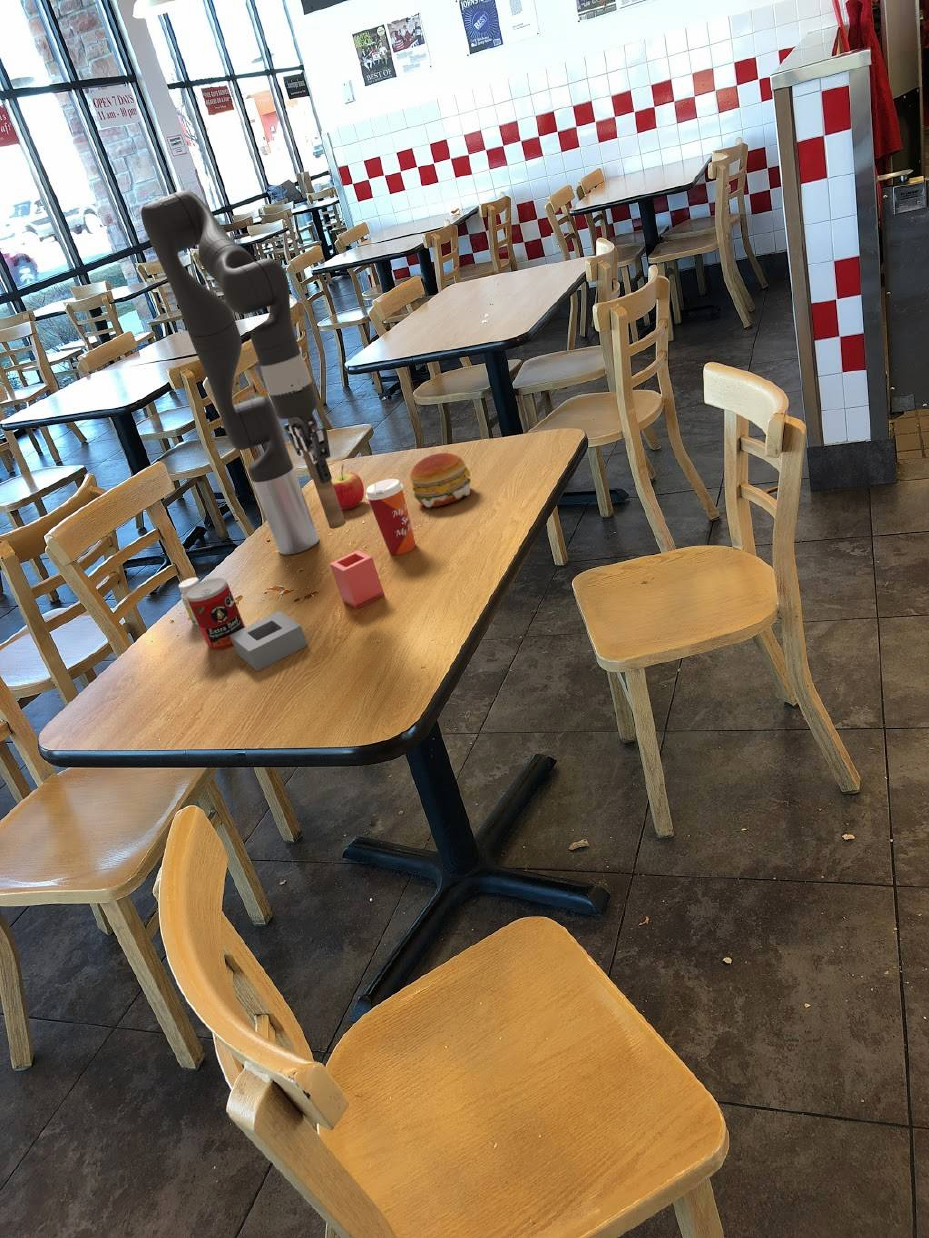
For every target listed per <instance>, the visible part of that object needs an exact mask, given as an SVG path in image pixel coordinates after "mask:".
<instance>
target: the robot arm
mask: <svg viewBox="0 0 929 1238" xmlns="http://www.w3.org/2000/svg"><path fill="white" fill-rule="evenodd" d="M140 217H141V220H142V224H143V228H144V230H145V233H146V235H147V237H148V240H149V242H150V244H151V246H152V248H153V250H154V253H155V255H156V258H157V260H158V261H159V264H160V266H161V268H162V270H163V272H164V274H165V277H166V278H167V282H168V284H169V285H170V287H171V288H170V289H171V291H172V293H173V295H174V298H175V301H176V303H177V306H178V308H179V312H180V314H181V316H182V319H183V323H184V325H185V328H186V330H187V331H186V332H187V334H188V336H189V339H190V341H191V343H192V347H193V348H194V350H195V352H196V355H197V357H198V360H199V362H200V365H201V367H202V368H203V371H204V374H205V376H206V378H207V381H208V383H209V386H210V389H211V392H212V395H213V398H214V401H215V404H216V406H217V407H216V408H217V409H218V412H219V416H220V419H221V423H222V425H223V428H224V431H225V434H226V435H227V438H228V441H229V442H230V444H231V445H232V447H233V448H234V449H236V450H238V451H244V450H247V449H250V448H254V447H257V446H259V445H263V444H266V443H268V447H267V448H266V450H265V451H264V452H263V453H262V454H261V455H260V456H259V457H258V458H256V459H255V460H254V461H253V462H252V463H250V464H249V467H248V474H249V477H250V480H251V481H252V484H253V487H254V490H255V493H256V494H257V498H258V500H259V503H260V506H261V508H262V510H263V513H264V515H265V518H266V521H267V524H268V526H269V528H270V532H271V534H272V537H273V540H274V542H275V545H276V547H277V550H278V552H279V554H281V555H286V556H289V555H294V554H299V553H301V552H305V551H306V550H308V549H310V548H312V547H314V546H315V545H316V544H317V543H318V542H319V540H320V538H319V534H318V532H317V528H316V527H315V524H314V521H313V518H312V515H311V512H310V510H309V506H308V504H307V501H306V499H305V496H304V492H303V490H302V487H301V485H300V482H299V479H298V476H297V474H296V471H295V468H294V465H293V462H292V460H291V457H290V454H289V452H288V449H287V446H286V443H285V441H284V438H283V437H284V436H283V433H282V430H281V427H280V426H281V425H280V423H279V419H280V420H287V422H288V423H286V424H283V430H284V431H285V433H286V435H287V437H288V438H289V440H290V443H291V444H292V447H293V448H294V450H295V452H296V455H297V456H298V457H300V456H301V459H302V460H303V462H305V465H306V468H307V471H308V474H309V476H310V479H311V480H313V478H312V475H311V473H310V470H309V467H308V464H307V461H306V458H305V455H304V453H303V450H302V449H303V448H304V450H305V451H306V452H308V453H309V455H310V457H311V460H312V462H313V465H314V468H315V471H316V473H317V476H318V479H319V482H320V483H326V482H328V481H330V480H332V479H333V476H332V474H331V470H330V467H329V465H328V462H327V459H329V458H331V451H330V445H329V437H328V430H327V429H326V428H325V427H322V428H320V425H319V423H318V420H317V419H316V417H315V415H314V414H313V412H314V411H315V409H317V408H318V407H319V405H320V402H319V401H320V400H319V399H318V396H317V392H316V390H315V386H314V384H313V381H312V378H311V375H310V372H309V368H308V367H307V363H306V361H305V360H304V357H303V356H302V353H301V350H300V347H299V344H298V342H297V338H296V334H295V332H294V327H293V321H292V312H291V303H290V301H291V299H290V285H289V279H288V275H287V273H286V271H285V269H284V267H283V266H282V265H281V263H279V261H278V260H276V259H273V258H270V257H269V258H268V257H267V258H262V259H259V260H256V261H255V260H254V258H253V256H252V255H251V254H250V252H249V251H247V250H246V249H245V248H244V247H242V246H241V245H240V244H239V243H237V241H235V240H234V239H232V237H230V236H229V234H228V233H227V232H226V231H225V229H224V228H223V226H222V225H221V223H220V222H219V221H218V219H217V218H216V217H215V216H214V213H212V212H211V210H210V209H209V207H208V206H207V205H206V203H204V201H203V200H202V199H201V198H200V196H198V195H197V194H196V193H195V192H193V191H191V190H186V189H185V190H179V191H176V192H173V193H171V194H169V195H166V196H164V197H161V198H158V199H156V200H154V201H151V202H148V203H146V204H144V205H143V206H142V207H141V210H140ZM195 246H198V249H197V250H198V259H199V262H200V265H201V266H202V268H203V270H204V271H205V272H206V273H207V274H208V275H209V276H210V277H211V278H213V280H214V281H216V282H217V283H218V284H219V286H220V287H221V290H222V295H223V297H224V299H225V301H224V300H223V299H222V298H220V296H218V295H217V294H216V293H214V292H213V291H212V290H211V289H209V288H207V287H206V286H205V285H203V284H202V283H201V282H199V281H198V280H197V279H196V278H195V277H194V276H193V275H192V274H191V273H190V272H189V271H188V270H187V269H186V268H185V267H184V265H183V263H182V262H181V260H180V257H179V253H181V252H183V251H185V250H188V249H191V248H193V247H195ZM268 307H269V314H268V317H267V318H266V319H265V320H264V321H263V322H262V323H261V324H258V326H255V328H253V329H252V330H251V332H250V341H251V343H252V346H253V349H254V352H255V355H256V357H257V361H258V363H259V365H260V369H261V375H262V378H263V381H264V384H265V387H266V390H267V393H268V396H269V398H267V396H263V395H262V396H257V397H255V398H254V397H253V398H251V399H248V400H245V401H241V402H239V403H236V404H234V403H233V387H234V386H233V385H234V379H235V375H236V372H237V368H238V365H239V361H240V358H241V354H242V348H243V344H242V343H243V341H242V335H241V334H240V330H239V328H238V325H237V322H236V319H235V317H234V314H233V312H235V313H237V314H241V315H248V314H251V313H254V312H257V311H260V310H263V309H264V308H268ZM311 444H313V445H311ZM309 445H311V446H309ZM313 451H314V452H313ZM319 451H320V454H319Z"/></svg>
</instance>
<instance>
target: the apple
mask: <svg viewBox="0 0 929 1238" xmlns="http://www.w3.org/2000/svg"><path fill="white" fill-rule="evenodd" d="M343 470H344V464H341V474H338V475H337V476H335V477H332V479H331V481H332V484H333V487H334V490H335V493H336V496H337V498H338V501H339V504H340V507H341V510H350V509H355V507H358V505H360V504H361V503H362V502H363V500H364V496H365V495H364V494H365V488H364V487H365V486H364V484H363V480H362V478H361V477H360V476H359V475H358V473H355V472H346V473H343Z"/></svg>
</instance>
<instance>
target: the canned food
mask: <svg viewBox="0 0 929 1238" xmlns="http://www.w3.org/2000/svg"><path fill="white" fill-rule="evenodd" d="M186 597H187V600H188V602H189V605H190V607H191V609H192V611H193V614H194V616H195V618H196V621H197V623H198V625H197V626H198V627H199V629H200V631H201V634H202V636H203V638H204V641H205V644H207V647H209V648H210V649H212V650H224V649H228V648H231V647H234V645H233V643H232V640H231V638H230V635H231V634H233V633H235V632H237V631H239V630H241V629H243V628H245V627H246V625H245V622H244V620H243V618H242V616H241V613H240V611H239V609H238V605H237V603H236V601H235V598H234V596H233V593H232V590H231V588H230V586H229V583H228V582H227V580H226V579H225V578H223V577H214V578H210V579H207V580H204V581H200V583H199V584H197V585H195V586H193V587H192V588H191V589H190V590H189V591H188V592H187V594H186Z"/></svg>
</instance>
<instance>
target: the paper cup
mask: <svg viewBox="0 0 929 1238" xmlns="http://www.w3.org/2000/svg"><path fill="white" fill-rule="evenodd" d="M403 488H404V485H403V484H402V483H401V482H400V480H399V479H398V478H389V479H383V480H380V481H377V482H375V483H372V484H371V485H369V486H368V487H367V488H366V490H365V491H366V493H365V494H366V495H365V499H366V500H368V503H369V505H370V507H371V510H372V512H373V515H374V518H375V520H376V523H377V526H378V528H379V530H380V533H381V536H382V537H383V540H384V543H385V545H386V548H387V550H388V553H389V554H390V555H392V556H399V555H404V554H407V553H409V552H411V551H413V550H414V549H415V548H416V540H415V536H414V532H413V531H414V530H413V528H412V523H411V519H410V515H409V511H408V507H407V503H406V498H405V494H404V491H403Z"/></svg>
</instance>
